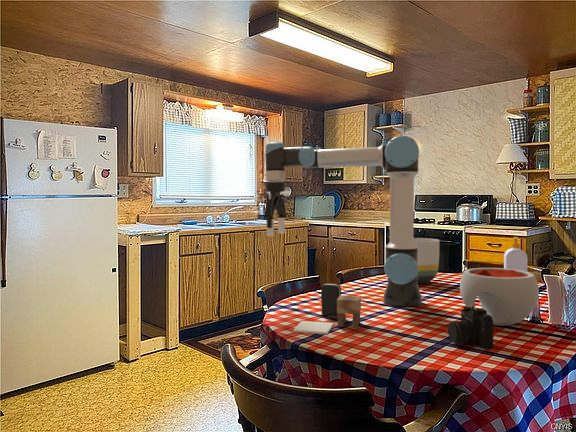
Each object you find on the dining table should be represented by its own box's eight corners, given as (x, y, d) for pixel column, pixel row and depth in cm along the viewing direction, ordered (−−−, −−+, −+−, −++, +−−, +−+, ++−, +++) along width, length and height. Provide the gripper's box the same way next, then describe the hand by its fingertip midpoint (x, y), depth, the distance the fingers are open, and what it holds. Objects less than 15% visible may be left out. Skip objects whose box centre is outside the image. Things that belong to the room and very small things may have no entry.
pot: (555, 331, 143) (555, 274, 143) (481, 333, 142) (481, 276, 141) (511, 312, 167) (512, 263, 167) (448, 314, 165) (448, 265, 165)
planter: (406, 278, 239) (406, 237, 238) (444, 282, 227) (444, 239, 226) (391, 284, 223) (391, 240, 222) (431, 288, 211) (431, 242, 211)
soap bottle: (524, 284, 219) (524, 236, 218) (527, 287, 212) (527, 238, 211) (503, 283, 221) (503, 236, 220) (505, 286, 215) (506, 237, 214)
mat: (333, 324, 153) (333, 323, 153) (327, 334, 143) (327, 332, 143) (301, 322, 156) (301, 320, 156) (293, 331, 146) (293, 329, 146)
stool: (360, 322, 156) (360, 296, 155) (358, 328, 149) (358, 300, 149) (340, 321, 158) (340, 295, 157) (337, 326, 151) (336, 299, 151)
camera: (439, 336, 140) (439, 303, 140) (473, 334, 141) (473, 302, 141) (460, 351, 126) (460, 315, 126) (497, 349, 127) (497, 314, 127)
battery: (342, 314, 166) (342, 283, 166) (339, 317, 163) (338, 285, 162) (324, 312, 169) (324, 282, 169) (320, 315, 166) (320, 283, 165)
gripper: (276, 182, 196) (277, 232, 197) (255, 181, 172) (255, 237, 173) (293, 182, 194) (293, 232, 195) (273, 180, 170) (274, 237, 171)
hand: (276, 234), depth 184 cm, fingers open, 13 cm apart
